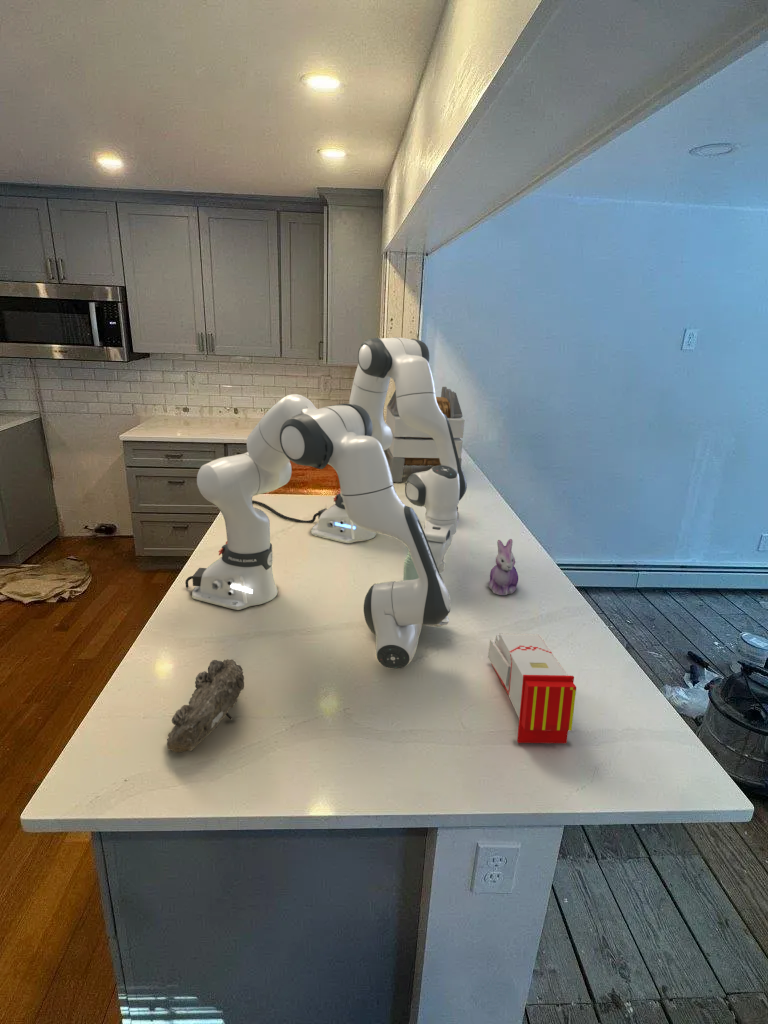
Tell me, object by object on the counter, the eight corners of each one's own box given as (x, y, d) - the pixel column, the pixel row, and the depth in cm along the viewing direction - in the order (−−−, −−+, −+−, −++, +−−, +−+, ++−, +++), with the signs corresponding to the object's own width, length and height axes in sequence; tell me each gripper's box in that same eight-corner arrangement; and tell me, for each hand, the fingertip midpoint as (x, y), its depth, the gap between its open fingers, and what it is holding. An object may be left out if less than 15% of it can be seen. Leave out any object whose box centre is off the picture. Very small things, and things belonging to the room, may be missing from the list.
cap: (431, 572, 159) (431, 564, 158) (430, 566, 163) (430, 558, 162) (444, 572, 159) (445, 565, 158) (443, 567, 163) (444, 559, 162)
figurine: (501, 599, 157) (507, 549, 152) (479, 583, 165) (484, 536, 160) (527, 593, 161) (534, 544, 156) (504, 578, 170) (510, 531, 165)
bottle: (397, 611, 149) (402, 539, 142) (413, 608, 151) (418, 537, 144) (406, 620, 145) (411, 546, 138) (422, 616, 147) (428, 543, 140)
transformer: (382, 463, 289) (386, 382, 275) (445, 464, 293) (451, 384, 279) (390, 482, 257) (394, 392, 243) (460, 483, 261) (468, 394, 247)
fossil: (192, 660, 117) (244, 628, 112) (224, 691, 120) (276, 661, 115) (142, 746, 98) (202, 712, 93) (182, 779, 101) (242, 748, 96)
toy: (536, 617, 130) (585, 683, 100) (531, 671, 132) (578, 750, 103) (483, 616, 129) (518, 682, 100) (479, 670, 132) (511, 749, 103)
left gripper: (449, 614, 131) (452, 587, 144) (362, 603, 134) (374, 577, 147) (446, 637, 133) (450, 609, 146) (361, 626, 136) (373, 599, 149)
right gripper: (437, 511, 167) (434, 554, 171) (420, 535, 148) (417, 583, 153) (459, 514, 165) (455, 558, 170) (444, 539, 147) (440, 587, 151)
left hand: (411, 593), depth 147 cm, fingers closed on bottle, 5 cm apart
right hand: (437, 570), depth 161 cm, fingers closed on cap, 3 cm apart
